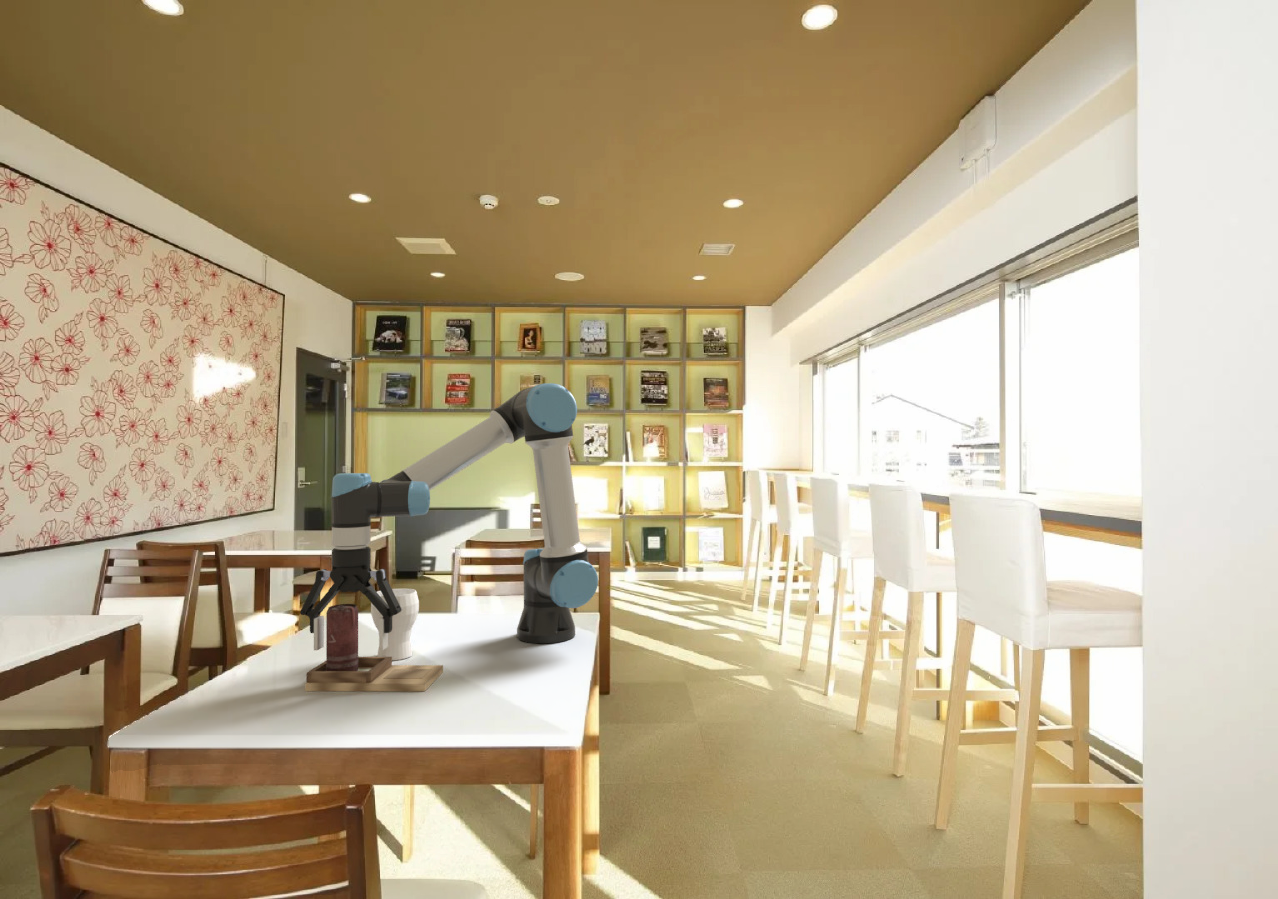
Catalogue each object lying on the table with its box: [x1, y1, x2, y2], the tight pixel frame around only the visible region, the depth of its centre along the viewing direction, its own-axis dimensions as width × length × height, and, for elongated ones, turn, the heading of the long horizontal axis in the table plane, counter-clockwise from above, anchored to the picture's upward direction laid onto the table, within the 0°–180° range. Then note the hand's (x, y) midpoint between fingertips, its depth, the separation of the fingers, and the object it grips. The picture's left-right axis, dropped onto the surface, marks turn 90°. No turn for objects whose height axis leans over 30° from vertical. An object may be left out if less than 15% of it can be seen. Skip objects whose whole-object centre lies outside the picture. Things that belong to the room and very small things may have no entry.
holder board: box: [304, 656, 444, 692], centre depth 140 cm, size 24×12×4 cm, turn 89°
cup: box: [370, 588, 420, 661], centre depth 158 cm, size 11×11×15 cm
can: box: [325, 603, 359, 671], centre depth 140 cm, size 6×6×14 cm
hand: (351, 648), depth 140 cm, fingers open, 13 cm apart
